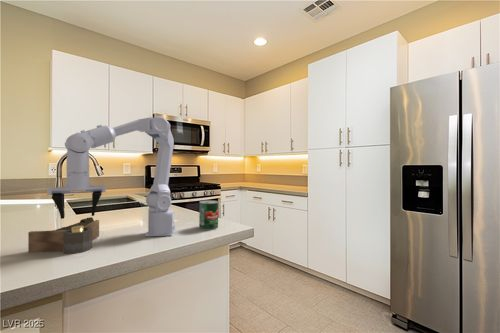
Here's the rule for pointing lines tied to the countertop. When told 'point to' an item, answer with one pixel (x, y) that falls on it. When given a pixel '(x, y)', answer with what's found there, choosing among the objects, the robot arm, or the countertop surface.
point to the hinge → (63, 239)
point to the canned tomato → (208, 215)
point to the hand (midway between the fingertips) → (78, 216)
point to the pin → (77, 229)
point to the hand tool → (78, 224)
